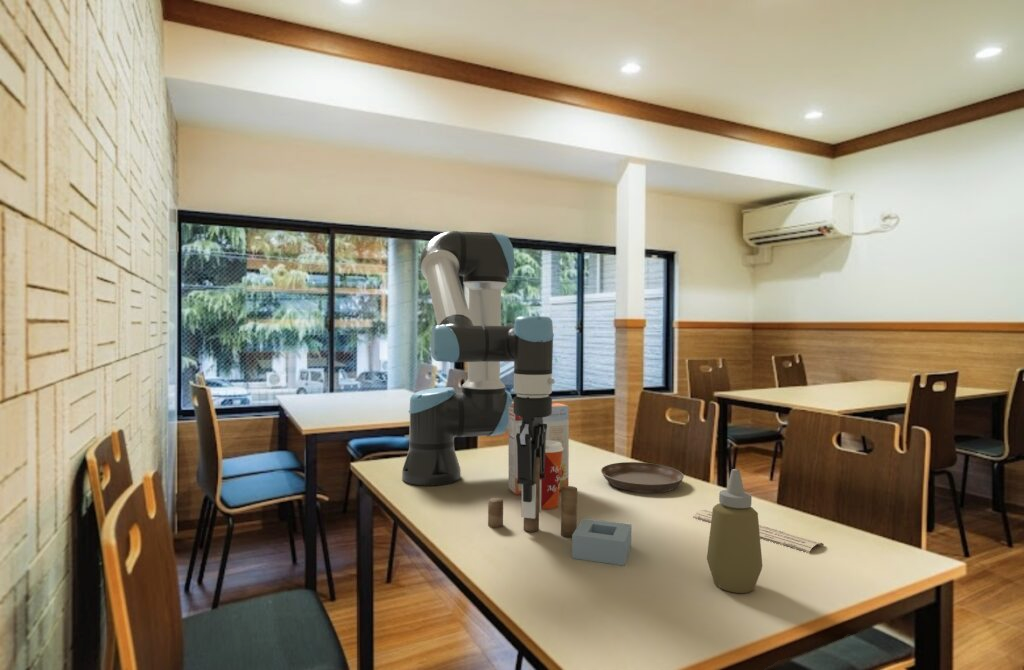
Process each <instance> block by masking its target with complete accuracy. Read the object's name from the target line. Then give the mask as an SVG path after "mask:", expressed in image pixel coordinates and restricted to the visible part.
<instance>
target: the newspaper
mask: <svg viewBox="0 0 1024 670" xmlns="http://www.w3.org/2000/svg"><path fill="white" fill-rule="evenodd" d="M712 511H713V510H708V509H701V510H700V511H697V512H696V513H695V514H694V515H693V517H692V519H694V518H695V520H697V519H698V520H697V521H701V520H702V521H701V522H704V523H707V522H708V523H707V524H710V523H711V520H712ZM759 532H760V540H762V539H763V541H766V542H769V541H770V543H772V542H773V544H775V543H776V545H779V544H780V545H779V546H782V545H783V547H785V546H786V547H785V548H788V547H790V548H789V549H793V550H795V549H796V550H795V551H798V550H799V551H798V552H801V551H803V552H802V553H805V552H806V553H805V554H808V553H811V551H812V548H814V547H815V546H817V545H821V546H820V547H822V545H824V546H825V543H823V542H819V541H817V540H812V539H810V538H806V537H803V536H799V535H795V534H791V533H789V532H785V531H782V530H778V529H774V528H771V527H767V526H765V525H760V524H759Z"/></svg>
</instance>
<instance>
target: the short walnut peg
mask: <svg viewBox="0 0 1024 670" xmlns="http://www.w3.org/2000/svg"><path fill="white" fill-rule="evenodd" d="M487 508H488V509H487V513H488V515H487V526H488V527H489V528H491V527H492V529H499V528H503V526H504V500H503V499H502V498H497V497H495V498H494V497H493V498H490V499H488V503H487Z"/></svg>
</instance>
